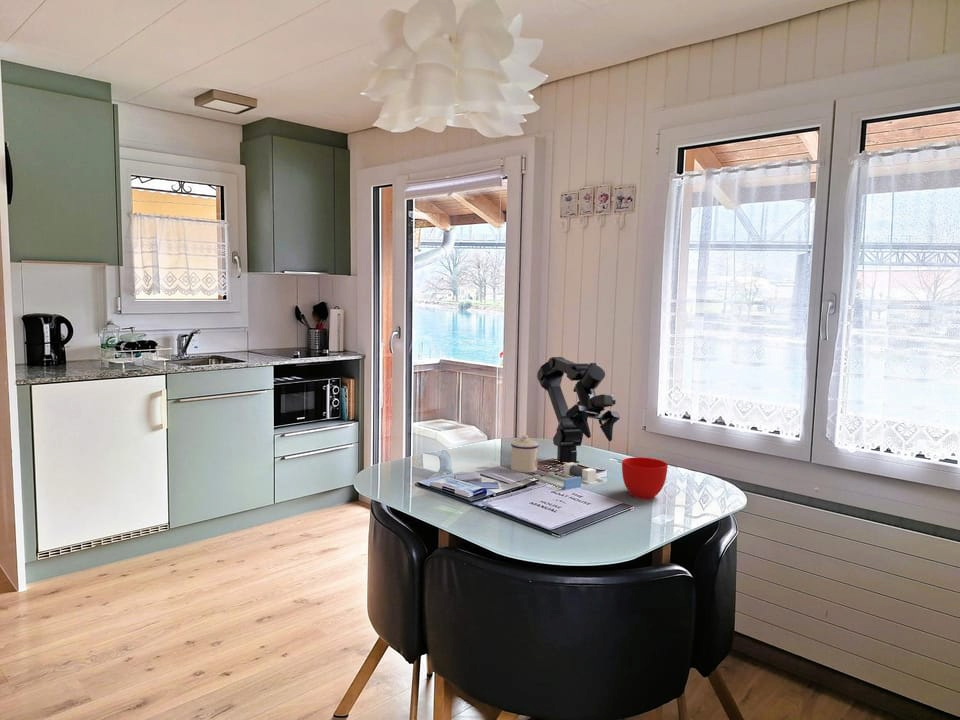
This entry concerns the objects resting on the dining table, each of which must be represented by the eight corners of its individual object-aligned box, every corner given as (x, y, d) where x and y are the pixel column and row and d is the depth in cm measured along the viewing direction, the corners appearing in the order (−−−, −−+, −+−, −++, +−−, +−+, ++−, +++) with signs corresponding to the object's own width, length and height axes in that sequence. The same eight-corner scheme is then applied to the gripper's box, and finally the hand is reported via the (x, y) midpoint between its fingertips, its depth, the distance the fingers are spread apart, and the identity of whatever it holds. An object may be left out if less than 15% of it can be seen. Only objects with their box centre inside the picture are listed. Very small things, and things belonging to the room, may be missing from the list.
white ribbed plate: (526, 480, 213) (526, 470, 212) (577, 471, 225) (578, 461, 225) (558, 492, 201) (558, 481, 200) (610, 482, 213) (611, 471, 213)
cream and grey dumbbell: (563, 474, 220) (563, 463, 219) (571, 473, 222) (572, 462, 221) (587, 482, 211) (587, 471, 210) (595, 481, 213) (596, 469, 212)
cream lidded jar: (542, 472, 223) (543, 437, 222) (516, 474, 220) (517, 439, 219) (527, 463, 234) (529, 430, 233) (503, 465, 231) (504, 431, 230)
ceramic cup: (666, 488, 208) (667, 456, 207) (665, 504, 191) (667, 469, 190) (622, 484, 211) (624, 452, 210) (619, 499, 195) (620, 465, 194)
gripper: (581, 379, 211) (595, 423, 203) (624, 388, 222) (638, 430, 213) (559, 397, 219) (571, 440, 210) (601, 405, 229) (614, 446, 220)
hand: (600, 439), depth 213 cm, fingers open, 9 cm apart
